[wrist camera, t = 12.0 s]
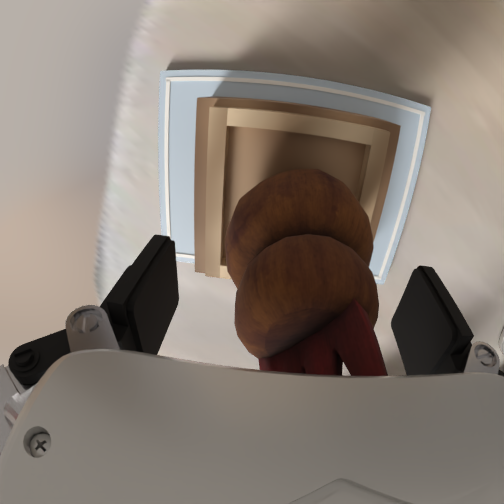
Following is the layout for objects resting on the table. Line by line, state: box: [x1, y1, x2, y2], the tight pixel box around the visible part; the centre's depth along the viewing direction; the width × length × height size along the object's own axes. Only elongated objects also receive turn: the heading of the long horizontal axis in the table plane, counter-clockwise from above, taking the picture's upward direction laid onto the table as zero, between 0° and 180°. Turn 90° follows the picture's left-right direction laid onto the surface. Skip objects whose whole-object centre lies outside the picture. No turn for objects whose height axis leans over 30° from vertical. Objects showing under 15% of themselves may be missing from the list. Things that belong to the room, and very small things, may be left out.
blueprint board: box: [158, 70, 431, 285], centre depth 20 cm, size 20×16×6 cm
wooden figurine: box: [225, 169, 388, 376], centre depth 12 cm, size 7×6×15 cm
